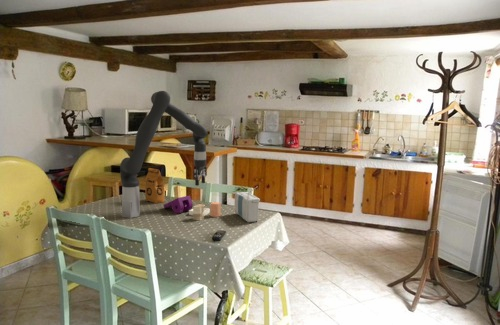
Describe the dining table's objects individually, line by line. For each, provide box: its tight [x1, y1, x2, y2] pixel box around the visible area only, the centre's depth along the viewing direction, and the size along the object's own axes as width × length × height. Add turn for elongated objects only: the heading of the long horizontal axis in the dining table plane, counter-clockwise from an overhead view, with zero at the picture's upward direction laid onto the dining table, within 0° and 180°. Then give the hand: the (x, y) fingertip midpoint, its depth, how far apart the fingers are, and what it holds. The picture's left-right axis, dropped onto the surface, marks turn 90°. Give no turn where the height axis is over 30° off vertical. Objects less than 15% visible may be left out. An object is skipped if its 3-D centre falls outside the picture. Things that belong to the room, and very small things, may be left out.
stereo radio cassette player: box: [234, 185, 261, 223], centre depth 222 cm, size 21×8×20 cm, turn 21°
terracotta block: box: [209, 201, 222, 218], centre depth 226 cm, size 4×4×8 cm
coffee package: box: [144, 167, 165, 204], centre depth 256 cm, size 10×12×22 cm
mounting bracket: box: [163, 195, 193, 215], centre depth 236 cm, size 10×8×18 cm
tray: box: [188, 207, 211, 217], centre depth 229 cm, size 9×9×3 cm
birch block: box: [192, 204, 205, 221], centre depth 218 cm, size 4×4×8 cm
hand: (200, 184), depth 245 cm, fingers open, 8 cm apart
